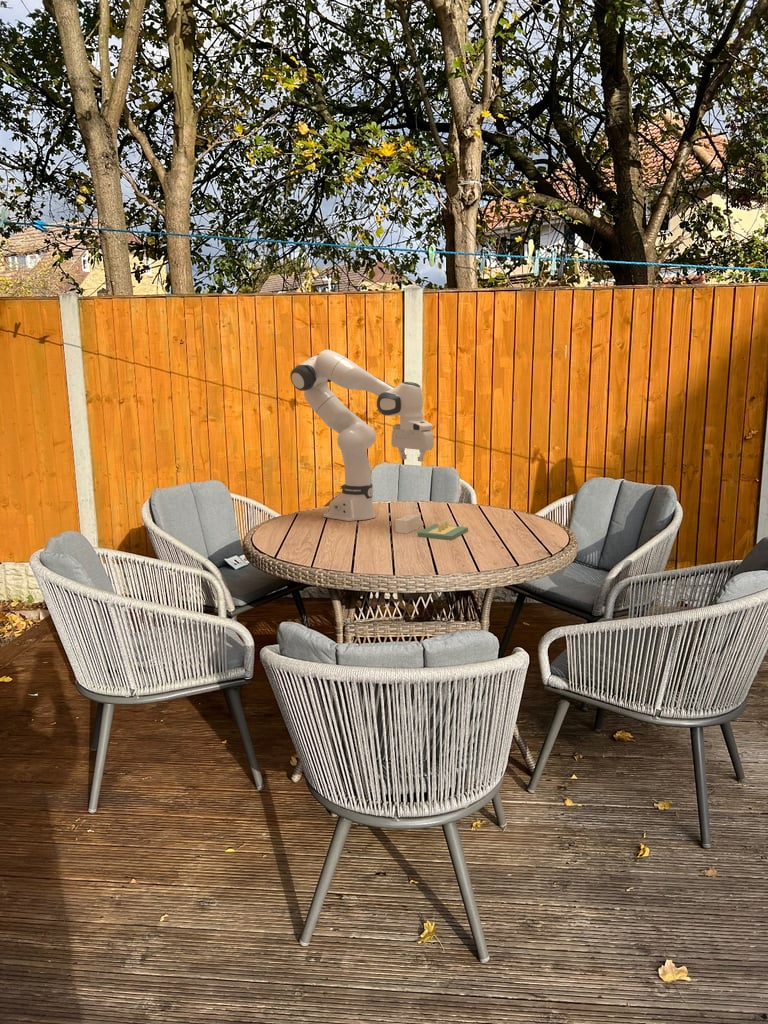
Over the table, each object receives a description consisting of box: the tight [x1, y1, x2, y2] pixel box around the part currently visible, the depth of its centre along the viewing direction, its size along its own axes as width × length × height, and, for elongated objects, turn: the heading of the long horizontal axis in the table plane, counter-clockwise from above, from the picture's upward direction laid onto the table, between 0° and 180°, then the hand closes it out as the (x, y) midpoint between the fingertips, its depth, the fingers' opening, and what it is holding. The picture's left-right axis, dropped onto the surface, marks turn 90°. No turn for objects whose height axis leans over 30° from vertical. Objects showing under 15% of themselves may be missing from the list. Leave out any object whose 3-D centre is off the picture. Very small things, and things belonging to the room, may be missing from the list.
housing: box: [395, 513, 421, 534], centre depth 298 cm, size 5×11×5 cm, turn 152°
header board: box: [416, 518, 469, 541], centre depth 291 cm, size 14×16×5 cm
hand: (412, 460), depth 296 cm, fingers open, 8 cm apart
